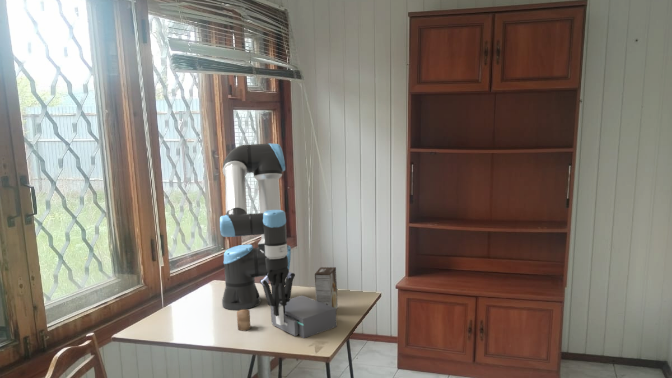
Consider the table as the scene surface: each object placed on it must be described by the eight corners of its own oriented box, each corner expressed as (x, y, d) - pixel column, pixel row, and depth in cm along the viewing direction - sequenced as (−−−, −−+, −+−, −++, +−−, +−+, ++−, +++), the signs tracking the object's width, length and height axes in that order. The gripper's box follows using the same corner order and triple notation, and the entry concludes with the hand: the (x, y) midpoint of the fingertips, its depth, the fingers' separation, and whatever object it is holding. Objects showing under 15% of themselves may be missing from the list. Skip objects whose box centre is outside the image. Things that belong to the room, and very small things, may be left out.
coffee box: (321, 307, 192) (320, 266, 190) (338, 307, 190) (336, 267, 189) (316, 315, 183) (314, 273, 181) (333, 316, 181) (331, 273, 180)
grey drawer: (271, 324, 174) (270, 311, 174) (302, 315, 183) (302, 302, 182) (293, 336, 164) (293, 322, 163) (326, 325, 172) (325, 311, 172)
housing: (271, 322, 178) (270, 304, 177) (303, 312, 187) (302, 295, 186) (303, 338, 162) (302, 319, 162) (336, 326, 171) (336, 308, 171)
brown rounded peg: (235, 328, 174) (234, 311, 173) (246, 324, 176) (245, 308, 176) (241, 331, 170) (240, 314, 170) (252, 328, 173) (251, 311, 172)
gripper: (265, 261, 159) (269, 332, 161) (298, 254, 167) (302, 321, 170) (253, 258, 165) (257, 326, 167) (286, 251, 173) (289, 316, 175)
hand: (280, 323), depth 168 cm, fingers closed
